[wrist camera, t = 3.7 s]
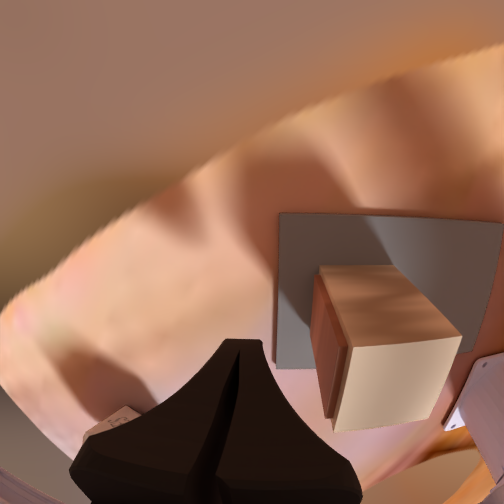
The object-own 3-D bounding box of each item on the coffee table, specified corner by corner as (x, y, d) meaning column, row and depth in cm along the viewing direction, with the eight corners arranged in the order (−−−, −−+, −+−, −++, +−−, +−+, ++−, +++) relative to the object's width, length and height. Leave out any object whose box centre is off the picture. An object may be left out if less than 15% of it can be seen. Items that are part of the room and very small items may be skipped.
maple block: (393, 264, 14) (462, 335, 8) (381, 331, 16) (427, 418, 9) (313, 265, 15) (343, 347, 8) (308, 334, 16) (325, 433, 9)
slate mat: (500, 222, 14) (504, 224, 13) (469, 348, 16) (472, 351, 16) (279, 212, 14) (279, 214, 14) (276, 364, 17) (275, 369, 17)
